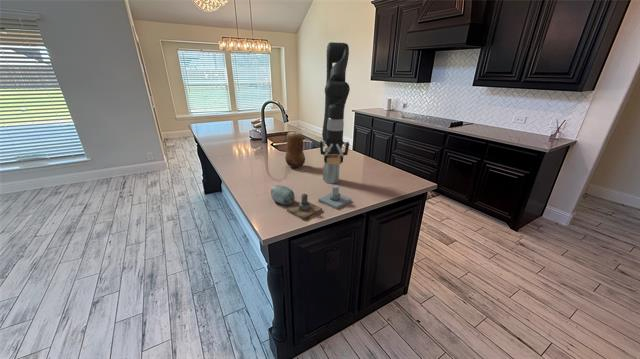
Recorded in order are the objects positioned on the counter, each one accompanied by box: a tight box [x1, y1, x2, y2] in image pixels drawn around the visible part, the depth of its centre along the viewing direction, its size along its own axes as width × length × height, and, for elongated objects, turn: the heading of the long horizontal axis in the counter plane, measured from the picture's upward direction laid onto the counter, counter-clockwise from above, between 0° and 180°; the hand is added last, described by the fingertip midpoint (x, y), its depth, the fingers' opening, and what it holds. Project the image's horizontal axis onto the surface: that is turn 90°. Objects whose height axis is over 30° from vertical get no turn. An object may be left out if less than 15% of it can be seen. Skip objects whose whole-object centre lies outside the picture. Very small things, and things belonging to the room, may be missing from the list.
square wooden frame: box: [327, 154, 341, 165], centre depth 121 cm, size 6×6×3 cm
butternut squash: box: [284, 131, 306, 169], centre depth 173 cm, size 14×13×25 cm
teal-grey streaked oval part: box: [270, 185, 296, 206], centre depth 128 cm, size 14×10×10 cm
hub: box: [318, 184, 352, 210], centre depth 129 cm, size 12×12×8 cm
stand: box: [286, 193, 323, 221], centre depth 119 cm, size 12×12×8 cm
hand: (333, 162), depth 122 cm, fingers closed on square wooden frame, 6 cm apart
